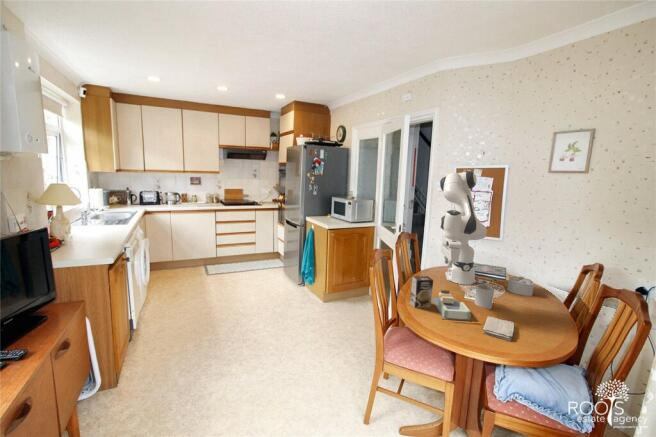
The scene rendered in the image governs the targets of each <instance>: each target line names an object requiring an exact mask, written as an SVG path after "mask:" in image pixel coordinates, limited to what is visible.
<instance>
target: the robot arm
mask: <svg viewBox="0 0 656 437" xmlns="http://www.w3.org/2000/svg"><path fill="white" fill-rule="evenodd" d="M477 180H478V179H477V175H476V174H475V173H474V172H473V170H472V171H469V170H467V171H465V172H463V171H462V172H450V173H449V174H447V175H446V176H444V177H442V178H441V179H440V180H439V187H440V189H441V191H442V192H443V197H444V198H445V200H447V201H448V202H450V203H452V204H454V210H453V209H452V210H451V209H450V210H447V211H445V215H443V216H442V217H441V222H440V228H441V229H442V231H443V232H442V238H441V246H440V252H441V254H443V258H444V264H445V265H446V264H447V267H448V268H447V271H445V278H446V280H447V281H450V282H453V283H456V284H460V285H465V286H467V285H469V286H470V285H473V284H474V283H477V279H475V278H476V277H475V275H476V270H475V268H474V264H475V262H474V257H475V250H474V248H473V247H472V246H470V245H469V241H479V240H482V239H485V238H486V236H487V233H488V230H487V226H486V225H485V224H483V223H481V221H480V220H479V219H478V217H477V214H476V212H475V208H474V201H473V196H472V192H471V191H473V188H475V186H476V185H477Z"/></svg>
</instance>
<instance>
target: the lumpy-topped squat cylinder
mask: <svg viewBox="0 0 656 437" xmlns="http://www.w3.org/2000/svg"><path fill="white" fill-rule="evenodd" d="M508 278H509V279H508V283H507V290H508V291H509V292H511V293H512V294H513V293H514V294H516V295H520V296H521V295H522V296H525V297H527V296H528V297H532V296H533V293H534V287H535V284H534V281H533V280H532V279H530V278H525V277H524V276H512V277H508Z"/></svg>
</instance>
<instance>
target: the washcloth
mask: <svg viewBox="0 0 656 437" xmlns="http://www.w3.org/2000/svg"><path fill="white" fill-rule="evenodd" d="M514 329H515V321H514V322H513V321H510V320H505V319H500V318H497V317H493V316H487V317H486V320H485V323H484V325H483V329H482V334H485V335H487V336H489V337H492V338H497V339H500V340H504V341H506V342H512V339H513V335H514Z"/></svg>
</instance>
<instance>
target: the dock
mask: <svg viewBox="0 0 656 437" xmlns="http://www.w3.org/2000/svg"><path fill="white" fill-rule="evenodd" d="M431 302H433V304H434V306H435V307H436V309H437V312H438V313H439V314H440V316H441V317H442V318H441V320H444V321H455V322H458V321H459V322H468V323H470V322H471V323H472V318H471V315H472V314H471V313H472V311H471V310H470V309H469V308H468V307H467V305H466V304H465V302H462V301H460V302H459V301H458V299H456V298H454V304H452V305H450V303H445V304H444V303H443V302H442V301H441V300H440V299H439V297H434V296H432V298H431Z"/></svg>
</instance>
